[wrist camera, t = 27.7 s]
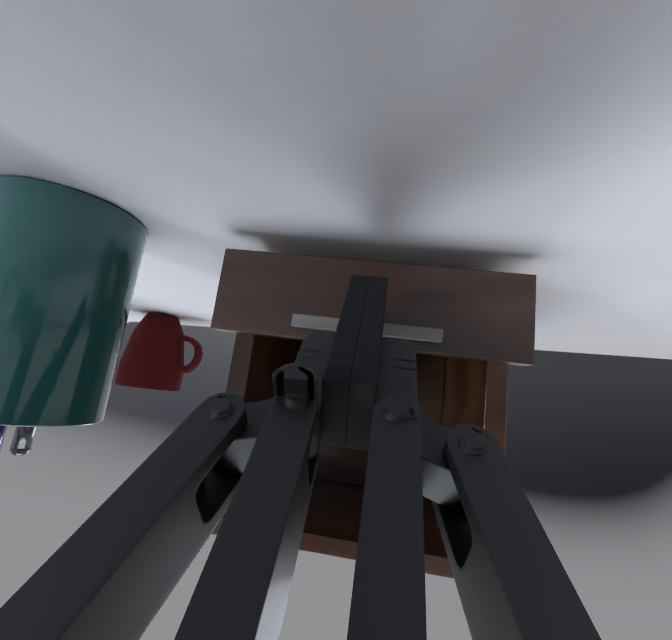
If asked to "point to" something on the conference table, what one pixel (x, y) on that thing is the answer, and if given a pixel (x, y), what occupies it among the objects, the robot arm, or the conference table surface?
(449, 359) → the open wooden box
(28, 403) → the pen pot
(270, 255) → the drawer
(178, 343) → the mug
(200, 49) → the conference table surface
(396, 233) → the conference table surface
